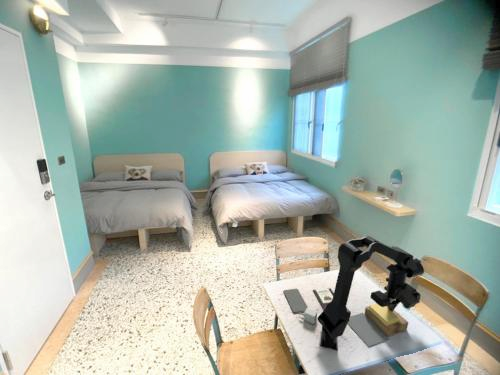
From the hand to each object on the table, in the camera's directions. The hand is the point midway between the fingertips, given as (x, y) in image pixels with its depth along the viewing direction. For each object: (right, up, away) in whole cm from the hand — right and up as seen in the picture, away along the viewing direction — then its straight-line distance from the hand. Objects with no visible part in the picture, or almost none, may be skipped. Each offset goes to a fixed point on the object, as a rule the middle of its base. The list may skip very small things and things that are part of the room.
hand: (390, 311), depth 104 cm
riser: (-2, -5, +1) cm, 5 cm away
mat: (-11, -6, -2) cm, 13 cm away
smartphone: (-37, -2, +13) cm, 39 cm away
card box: (-4, -1, -1) cm, 4 cm away
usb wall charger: (-34, -5, +3) cm, 34 cm away
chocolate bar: (-22, -2, +11) cm, 25 cm away
